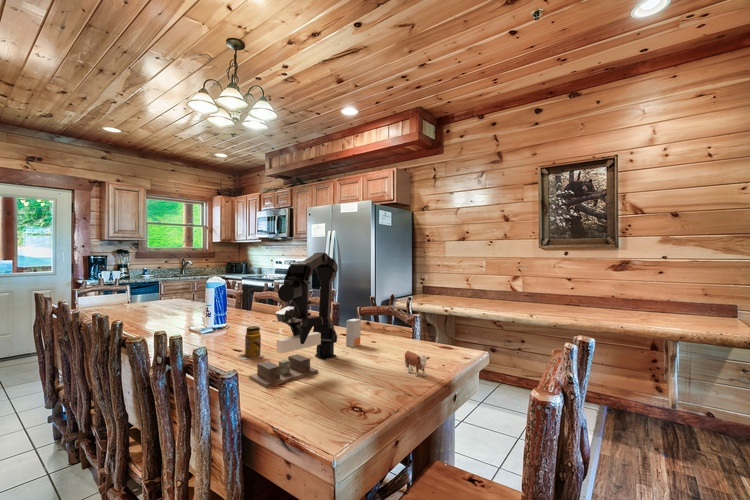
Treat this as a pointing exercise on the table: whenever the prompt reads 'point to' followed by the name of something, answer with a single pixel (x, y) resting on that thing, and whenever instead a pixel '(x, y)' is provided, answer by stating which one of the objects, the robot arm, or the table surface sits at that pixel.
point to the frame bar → (298, 342)
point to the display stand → (282, 371)
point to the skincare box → (353, 332)
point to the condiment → (252, 343)
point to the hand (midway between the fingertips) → (299, 343)
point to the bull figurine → (415, 362)
